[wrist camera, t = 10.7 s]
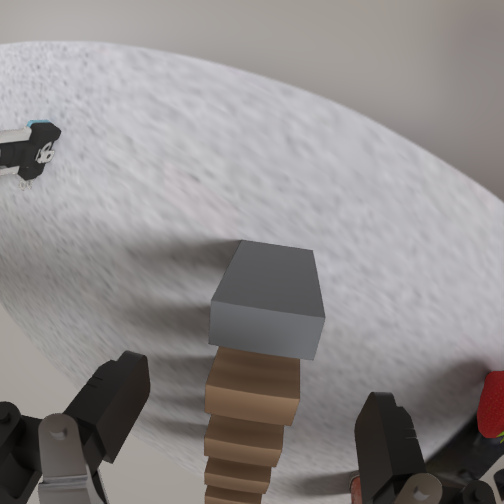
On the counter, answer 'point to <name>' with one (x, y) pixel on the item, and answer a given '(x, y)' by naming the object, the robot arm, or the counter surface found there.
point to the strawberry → (492, 406)
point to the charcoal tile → (269, 302)
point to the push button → (27, 150)
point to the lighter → (355, 488)
